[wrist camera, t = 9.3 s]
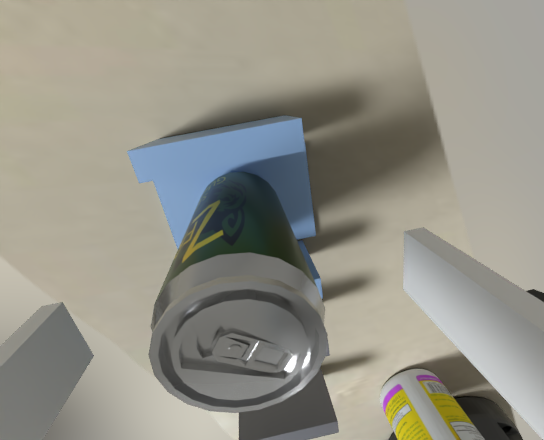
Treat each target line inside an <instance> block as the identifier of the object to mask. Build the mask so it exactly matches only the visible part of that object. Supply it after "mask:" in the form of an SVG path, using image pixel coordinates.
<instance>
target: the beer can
mask: <svg viewBox="0 0 544 440" xmlns="http://www.w3.org/2000/svg"><path fill="white" fill-rule="evenodd" d="M324 315H325V307H324V305H323V302H322V299H321V296H320V293H319V291H318V288H317V286H316V283H315V281H314V279H313V276H312V274H311V272H310V269H309V267H308V265H307V263H306V260H305V258H304V256H303V253H302V251H301V249H300V246H299V244H298V242H297V240H296V237H295V235H294V233H293V230H292V228H291V226H290V223H289V221H288V219H287V217H286V214H285V212H284V210H283V207H282V205H281V203H280V200H279V198H278V196H277V194H276V192H275V190H274V189H273V188H272V187H271V185H270V184H269V183H268V182H267V181H265V180H264V179H262V178H261V177H259V176H258V175H255V174H251V173H247V172H230V173H227V174H225V175H222V176H220V177H217V178H216V179H215V180H214V181H213V182H211V183H210V184H209V185H208V186H207V187H206V189H205V191H204V192H203V194H202V196H201V198H200V200H199V202H198V205H197V207H196V209H195V212H194V214H193V216H192V219H191V221H190V223H189V225H188V228H187V230H186V232H185V235H184V237H183V239H182V242H181V244H180V246H179V249H178V251H177V253H176V256H175V258H174V260H173V263H172V265H171V267H170V270H169V272H168V274H167V277H166V279H165V281H164V283H163V286H162V288H161V290H160V293H159V295H158V297H157V300H156V302H155V305H154V311H153V317H152V323H151V329H152V332H153V333H152V338H151V344H150V350H149V358H150V362H151V365H152V369H153V372H154V375H155V377H156V378H157V379H158V380H159V382H160V383H161V384H162V385H163V386H164V388H165V389H166V390H167V391H168V392H169V393H170V394H172V395H174V396H175V397H177V398H178V399H180V400H182V401H183V402H185V403H186V404H189V405H192V406H195V407H199V408H202V409H205V410H208V411H216V412H230V413H238V412H245V411H252V410H260V409H263V408H265V407H268V406H271V405H274V404H277V403H280V402H282V401H284V400H286V399H287V398H289V397H290V396H292V395H294V394H295V393H297V392H299V391H300V390H302V389H303V388H304V387H305V386H306V385H307V384H308V383H309V381H310V380H311V379H312V378H313V377H314V376H315V375H316V374H317V373H318V371H319V369H320V366H321V364H322V362H323V360H324V358H325V356H326V348H327V332H326V330H325V327H324Z"/></svg>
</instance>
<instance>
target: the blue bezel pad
mask: <svg viewBox="0 0 544 440" xmlns="http://www.w3.org/2000/svg"><path fill="white" fill-rule="evenodd" d="M304 144H305V143H304ZM230 172H247V173H251V174H255V175H258V176H259V177H261V178H262V179H264V180H265V181H267V182H268V183H269V184H270V185H271V187H272V188H273V189H274V190H275V192H276V194H277V196H278V198H279V200H280V203H281V205H282V207H283V210H284V212H285V214H286V217H287V219H288V221H289V223H290V226H291V228H292V230H293V233H294V235H295V237H296V240H298V239H303V238H307V237H312V236H316V232H315V223H314V215H313V206H312V198H311V189H310V181H309V172H308V164H307V155H306V147H305V151H303V152H298V153H292V154H287V155H282V156H277V157H272V158H267V159H262V160H256V161H251V162H246V163H241V164H236V165H231V166H226V167H221V168H215V169H210V170H205V171H200V172H195V173H190V174H185V175H179V176H174V177H169V178H164V179H159V180H154V181H153V182H154V184H155V187H156V190H157V193H158V196H159V198H160V201H161V204H162V207H163V210H164V212H165V215H166V218H167V221H168V223H169V226H170V229H171V232H172V235H173V237H174V240H175V243H176V246H177V249H179V246H180V244H181V242H182V239H183V237H184V235H185V232H186V230H187V228H188V225H189V223H190V221H191V219H192V216H193V214H194V212H195V209H196V207H197V205H198V202H199V200H200V198H201V196H202V194H203V192H204V191H205V189H206V187H207V186H208V185H209V184H210V183H211V182H213V181H214V180H215V179H216V178H217V177H220V176H222V175H225V174H227V173H230Z"/></svg>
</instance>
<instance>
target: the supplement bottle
mask: <svg viewBox="0 0 544 440" xmlns="http://www.w3.org/2000/svg"><path fill="white" fill-rule="evenodd" d="M380 402H381V405H382V408H383V410H384V412H385V414H386V416H387V418H388V421H389V423H390V425H391V427H392V429H393V431H394V433H395V435H396V437H397V439H398V440H485V439H484V438H483V437H482V435H481V434H480V433H479V431H478V430H477V429H476V427H475V426H474V424H473V423H472V422H471V420H470V419H469V418H468V416H467V415H466V414H465V412H464V411H463V410H462V408H461V407H460V406H459V404H458V403H457V402H456V400H455V399H454V398H453V396H452V395H451V394H450V392H449V391H448V390H447V388H446V387H445V386H444V384H443V383H442V382H441V381H440V379H439V378H438V377H437V376H436V375H435V374H434V373H432V372H430V371H428V370H425V369H411V370H407V371H404V372H401V373H399V374H397V375H395V376H393V377H392V378H391V379H389V380H388V381H387V382H386V384H385V385H384V386H383V388H382V390H381V393H380Z"/></svg>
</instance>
